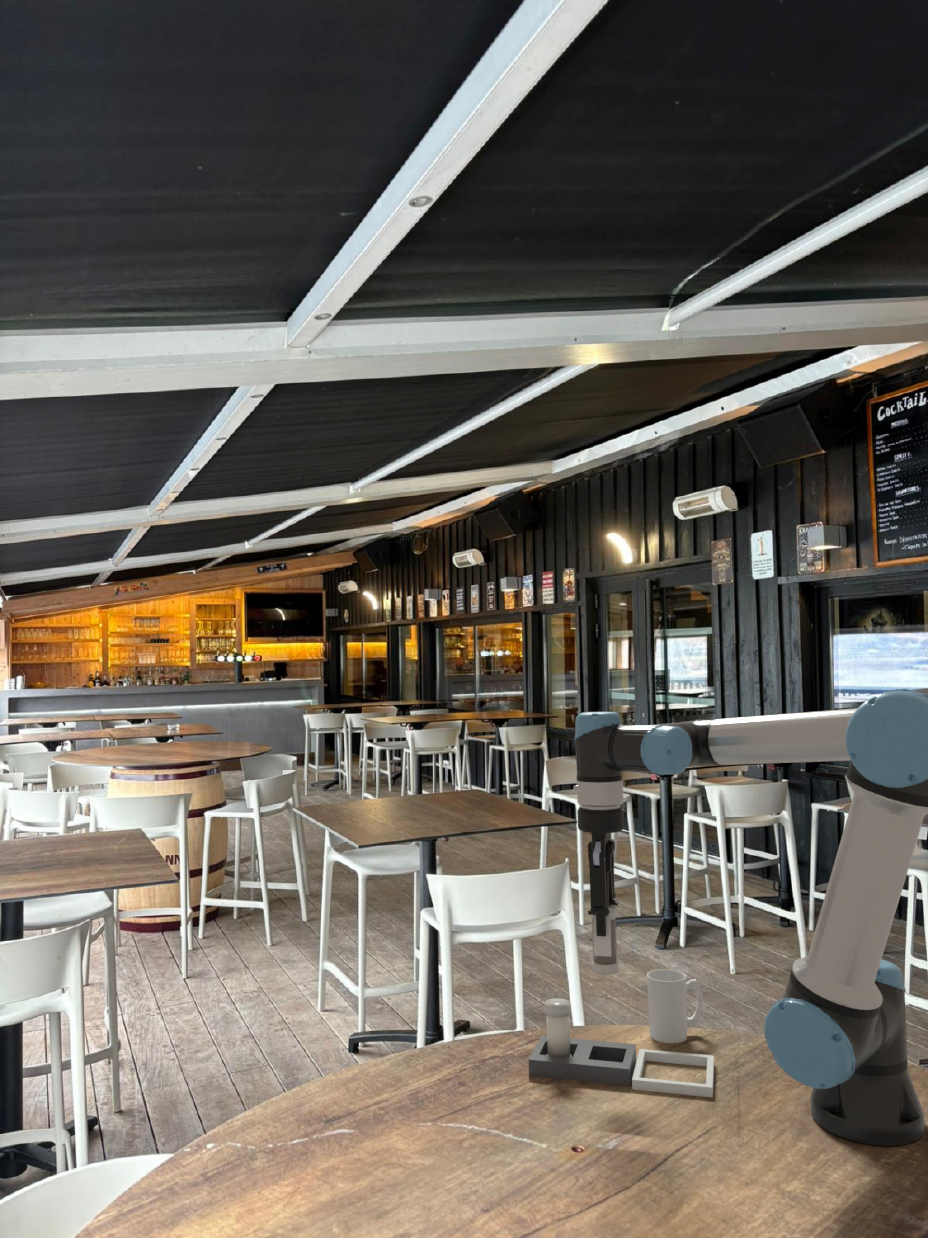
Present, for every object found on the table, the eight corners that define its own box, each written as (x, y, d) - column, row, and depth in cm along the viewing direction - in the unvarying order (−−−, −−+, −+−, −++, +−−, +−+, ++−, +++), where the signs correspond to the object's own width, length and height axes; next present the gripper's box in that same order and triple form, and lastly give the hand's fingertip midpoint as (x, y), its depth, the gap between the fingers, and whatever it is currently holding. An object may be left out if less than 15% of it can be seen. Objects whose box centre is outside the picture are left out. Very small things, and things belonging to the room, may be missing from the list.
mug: (657, 1054, 158) (654, 983, 159) (643, 1039, 165) (641, 970, 166) (712, 1049, 160) (709, 978, 161) (696, 1034, 166) (694, 966, 167)
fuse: (574, 1061, 153) (572, 999, 153) (569, 1071, 149) (568, 1008, 149) (549, 1058, 154) (547, 997, 154) (544, 1069, 150) (542, 1006, 150)
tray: (714, 1074, 150) (713, 1055, 150) (713, 1107, 139) (712, 1087, 139) (640, 1066, 153) (639, 1049, 154) (632, 1099, 142) (632, 1079, 142)
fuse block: (636, 1069, 153) (635, 1044, 153) (630, 1096, 143) (629, 1069, 143) (541, 1059, 157) (540, 1035, 157) (529, 1085, 147) (528, 1059, 148)
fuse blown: (619, 967, 151) (617, 905, 152) (616, 975, 147) (614, 912, 148) (594, 965, 152) (592, 904, 153) (590, 973, 148) (588, 910, 149)
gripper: (585, 798, 161) (589, 935, 159) (568, 813, 144) (573, 965, 143) (628, 799, 159) (633, 937, 157) (616, 814, 142) (622, 969, 141)
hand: (604, 950), depth 150 cm, fingers closed on fuse blown, 4 cm apart
